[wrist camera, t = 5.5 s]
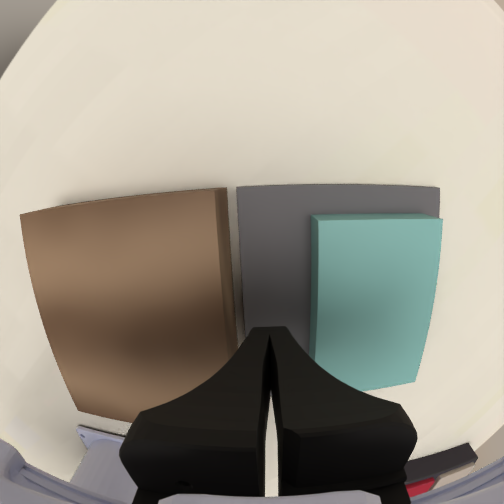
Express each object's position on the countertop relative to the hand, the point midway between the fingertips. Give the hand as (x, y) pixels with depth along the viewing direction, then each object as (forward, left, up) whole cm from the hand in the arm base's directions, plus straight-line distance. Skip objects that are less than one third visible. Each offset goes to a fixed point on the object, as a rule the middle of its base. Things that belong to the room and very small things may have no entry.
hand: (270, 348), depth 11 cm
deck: (0, +7, -4) cm, 8 cm away
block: (0, -5, -3) cm, 6 cm away
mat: (0, -4, -4) cm, 6 cm away
